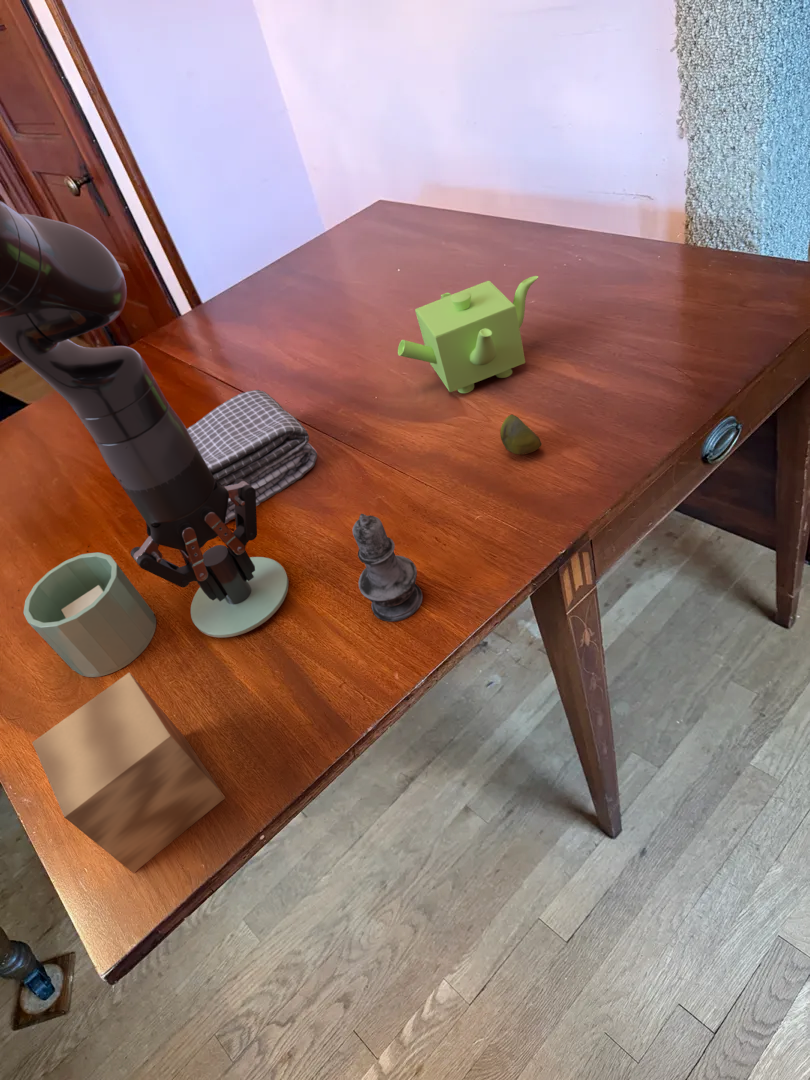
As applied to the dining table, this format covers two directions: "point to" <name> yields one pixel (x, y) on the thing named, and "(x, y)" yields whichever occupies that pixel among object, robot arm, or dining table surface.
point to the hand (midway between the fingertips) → (233, 585)
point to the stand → (126, 774)
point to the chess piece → (385, 573)
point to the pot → (91, 615)
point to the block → (82, 602)
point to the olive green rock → (518, 436)
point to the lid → (238, 594)
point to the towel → (253, 445)
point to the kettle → (471, 335)
